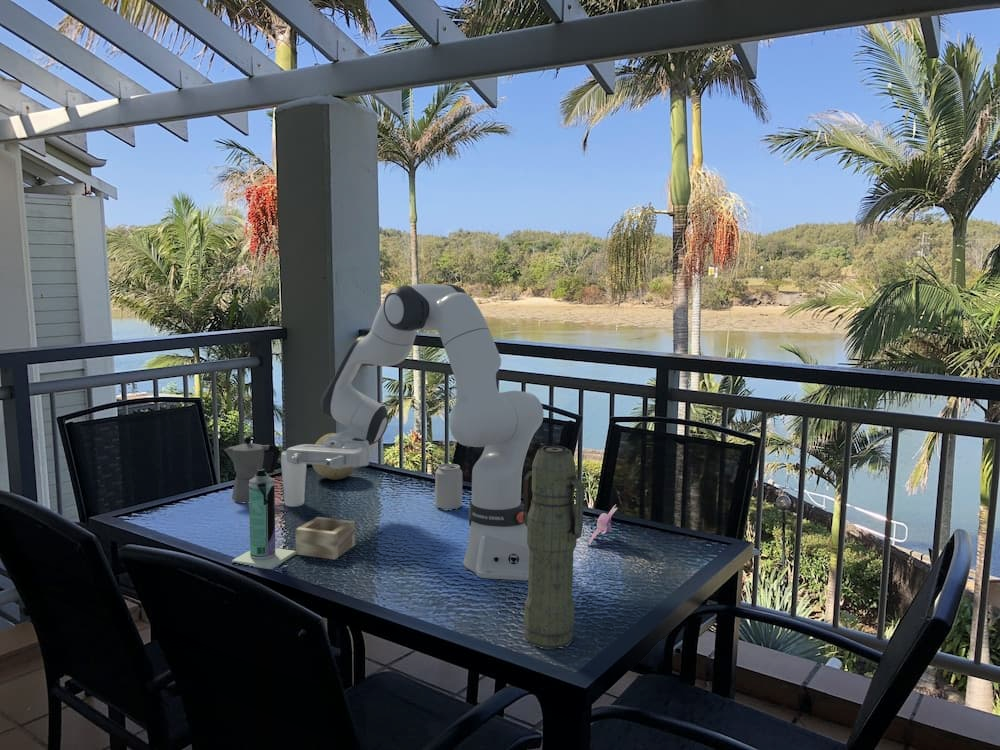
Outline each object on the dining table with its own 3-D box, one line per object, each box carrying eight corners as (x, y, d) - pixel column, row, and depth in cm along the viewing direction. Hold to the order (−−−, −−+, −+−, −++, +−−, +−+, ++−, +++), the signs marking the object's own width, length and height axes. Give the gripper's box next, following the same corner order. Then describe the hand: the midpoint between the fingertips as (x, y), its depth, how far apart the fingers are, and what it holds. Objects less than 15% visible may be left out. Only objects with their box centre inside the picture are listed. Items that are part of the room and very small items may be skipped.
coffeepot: (222, 504, 219) (220, 440, 217) (227, 495, 228) (226, 434, 226) (279, 502, 222) (278, 440, 220) (282, 493, 231) (281, 433, 229)
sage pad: (295, 554, 182) (295, 550, 182) (271, 569, 173) (271, 565, 172) (258, 549, 185) (258, 545, 185) (232, 563, 175) (231, 560, 175)
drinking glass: (300, 509, 216) (299, 455, 214) (277, 507, 218) (276, 454, 216) (310, 502, 223) (310, 450, 221) (288, 500, 224) (288, 448, 222)
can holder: (355, 545, 189) (355, 521, 188) (334, 559, 179) (334, 534, 178) (317, 540, 192) (317, 516, 191) (295, 554, 182) (295, 529, 181)
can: (467, 506, 222) (467, 465, 221) (451, 513, 216) (452, 470, 214) (445, 502, 226) (446, 461, 225) (429, 508, 220) (430, 466, 218)
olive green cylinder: (531, 621, 149) (536, 440, 145) (588, 637, 143) (595, 448, 139) (507, 639, 142) (512, 448, 138) (566, 656, 136) (573, 458, 131)
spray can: (279, 556, 178) (278, 470, 176) (257, 562, 174) (255, 473, 172) (268, 549, 182) (267, 465, 180) (246, 555, 178) (244, 468, 176)
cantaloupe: (301, 478, 248) (301, 432, 246) (339, 470, 259) (338, 425, 257) (331, 487, 238) (330, 439, 237) (368, 478, 250) (368, 432, 248)
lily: (604, 535, 203) (587, 504, 202) (643, 527, 196) (626, 494, 195) (587, 563, 194) (569, 530, 192) (627, 555, 187) (609, 521, 185)
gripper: (302, 436, 205) (272, 446, 192) (374, 440, 199) (348, 451, 186) (303, 460, 206) (273, 472, 193) (374, 465, 200) (349, 477, 187)
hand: (311, 462), depth 189 cm, fingers open, 8 cm apart
